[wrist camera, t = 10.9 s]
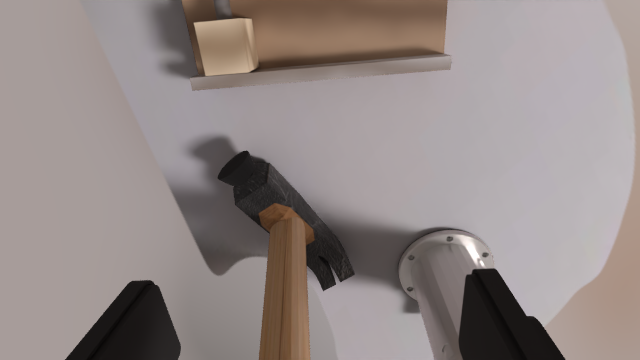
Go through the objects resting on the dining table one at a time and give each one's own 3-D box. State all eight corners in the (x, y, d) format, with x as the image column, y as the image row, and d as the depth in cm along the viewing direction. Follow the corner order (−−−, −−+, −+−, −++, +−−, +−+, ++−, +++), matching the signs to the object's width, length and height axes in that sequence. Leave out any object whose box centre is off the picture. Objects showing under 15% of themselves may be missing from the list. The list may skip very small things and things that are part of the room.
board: (438, 64, 35) (450, 69, 31) (207, 83, 37) (192, 90, 33) (446, -76, 30) (462, -91, 26) (178, -46, 32) (157, -55, 28)
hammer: (348, 241, 48) (407, 551, 23) (320, 257, 49) (347, 564, 24) (251, 143, 38) (172, 495, 13) (220, 166, 39) (94, 524, 15)
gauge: (259, 66, 34) (248, 72, 30) (221, 69, 34) (205, 76, 30) (242, -42, 30) (227, -52, 26) (199, -37, 30) (178, -46, 26)
